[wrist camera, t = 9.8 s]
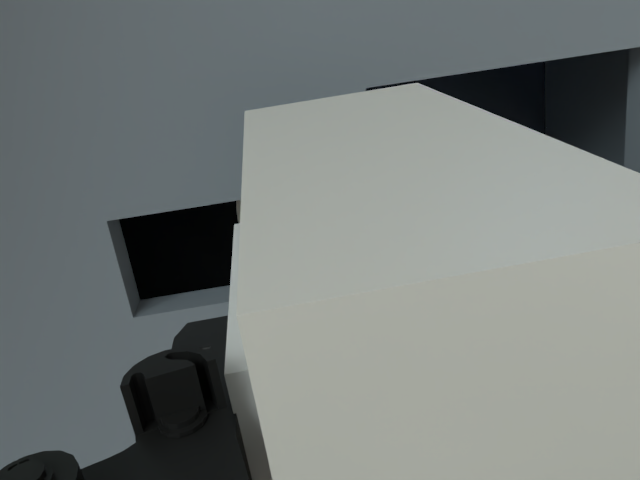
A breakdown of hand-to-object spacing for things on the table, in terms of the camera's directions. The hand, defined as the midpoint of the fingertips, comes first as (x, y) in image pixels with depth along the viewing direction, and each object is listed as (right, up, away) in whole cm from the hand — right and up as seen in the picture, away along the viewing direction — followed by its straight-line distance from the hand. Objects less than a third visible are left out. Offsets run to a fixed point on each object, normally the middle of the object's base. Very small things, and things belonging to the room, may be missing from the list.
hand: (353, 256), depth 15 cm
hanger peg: (-1, +2, +6) cm, 6 cm away
